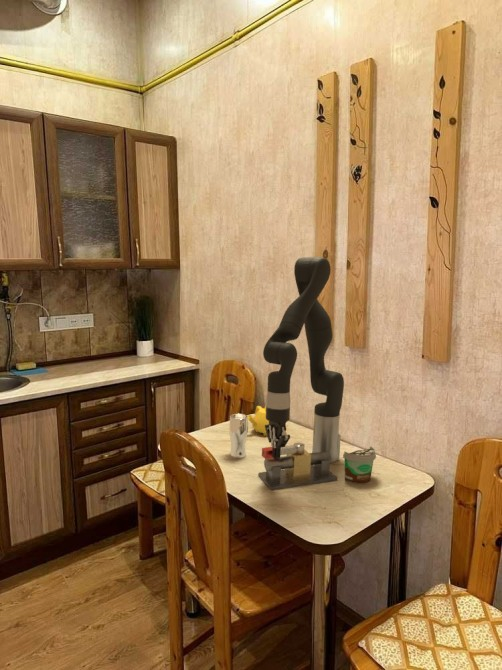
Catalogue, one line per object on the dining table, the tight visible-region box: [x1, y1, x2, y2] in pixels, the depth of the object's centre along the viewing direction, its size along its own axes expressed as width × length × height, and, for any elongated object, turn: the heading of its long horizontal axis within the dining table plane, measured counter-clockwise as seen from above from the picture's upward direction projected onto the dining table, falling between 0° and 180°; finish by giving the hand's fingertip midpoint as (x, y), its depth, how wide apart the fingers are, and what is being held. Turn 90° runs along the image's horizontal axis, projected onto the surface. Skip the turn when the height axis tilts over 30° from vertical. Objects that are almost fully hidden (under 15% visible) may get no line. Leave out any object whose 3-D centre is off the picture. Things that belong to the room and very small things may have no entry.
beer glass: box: [228, 413, 249, 459], centre depth 173 cm, size 7×7×15 cm
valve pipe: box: [257, 449, 338, 491], centre depth 156 cm, size 24×11×9 cm, turn 110°
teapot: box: [247, 405, 269, 437], centre depth 199 cm, size 20×18×11 cm
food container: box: [342, 446, 377, 484], centre depth 155 cm, size 12×6×10 cm, turn 118°
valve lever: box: [261, 442, 305, 460], centre depth 153 cm, size 15×4×3 cm, turn 114°
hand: (276, 458), depth 148 cm, fingers closed
